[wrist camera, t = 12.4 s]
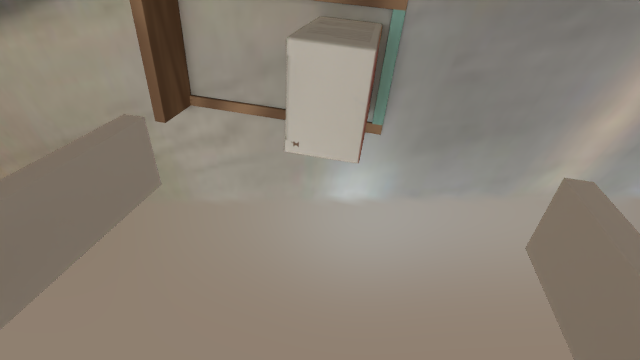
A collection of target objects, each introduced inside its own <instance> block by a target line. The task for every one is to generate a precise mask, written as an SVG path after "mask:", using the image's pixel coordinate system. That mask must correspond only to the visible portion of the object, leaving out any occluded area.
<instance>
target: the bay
mask: <svg viewBox="0 0 640 360" xmlns="http://www.w3.org/2000/svg"><path fill="white" fill-rule="evenodd" d="M316 1H325V2H333V3H342V4H351V5H360V6H369V7H378V8H387V9H393V13H392V19H391V24H390V29H389V35H388V40H387V46H386V51H385V57H384V62H383V68H382V73H381V78H380V84H379V89H378V95H377V100H376V106H375V111H374V117H373V122H367V124H366V129H365V132H367V133H373V134H380V135H381V130H382V125H383V120H384V116H385V111H386V106H387V101H388V96H389V91H390V86H391V81H392V76H393V71H394V66H395V61H396V56H397V52H398V47H399V42H400V37H401V32H402V27H403V22H404V17H405V12H406V7H407V2H408V0H316ZM130 4H131V9H132V14H133V18H134V23H135V28H136V32H137V37H138V42H139V46H140V51H141V56H142V61H143V65H144V70H145V75H146V79H147V84H148V89H149V93H150V98H151V103H152V107H153V112H154V117H155V121H157V122H163V123H166V122H167V121H169V120H170V119H172V118H173V117H175V116H176V115H177V114H179V113H180V112H182V111H183V110H185V109H186V108H187V107H189V106H190V105H193V106H199V107H206V108H212V109H219V110H225V111H232V112H238V113H244V114H251V115H257V116H264V117H270V118H277V119H283V120H286V109H280V108H273V107H266V106H260V105H253V104H247V103H240V102H233V101H227V100H220V99H214V98H207V97H201V96H194V95H191V92H190V85H189V78H188V71H187V64H186V57H185V50H184V42H183V35H182V28H181V21H180V14H179V7H178V0H130Z"/></svg>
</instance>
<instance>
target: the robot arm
mask: <svg viewBox="0 0 640 360" xmlns="http://www.w3.org/2000/svg"><path fill="white" fill-rule="evenodd" d="M160 185H161V180H160V177H159V173H158V169H157V165H156V161H155V157H154V153H153V149H152V145H151V141H150V137H149V133H148V129H147V126H146V122H145V118H144V117H140V116H133V115H127V114H123V115H122V116H120V117H118V118H116V119H114V120H112V121H110V122H108V123H106V124H105V125H103V126H101V127H99V128H97V129H95V130H93V131H91V132H89V133H88V134H86V135H84V136H82V137H80V138H78V139H76V140H74V141H72V142H71V143H69V144H67V145H65V146H63V147H61V148H59V149H57V150H55V151H54V152H52V153H50V154H48V155H46V156H44V157H42V158H40V159H38V160H37V161H35V162H33V163H31V164H29V165H27V166H25V167H23V168H21V169H20V170H18V171H16V172H14V173H12V174H10V175H8V176H6V177H4V178H3V179H1V180H0V330H1V329H2V328H3V327H4V326H5V325H6V324H7V323H8V322H9V321H10V320H12V319H13V318H14V317H15V316H16V315H17V314H18V313H19V312H21V311H22V310H23V309H24V308H25V307H26V306H27V305H28V304H29V303H31V302H32V301H33V300H34V299H35V298H36V297H37V296H38V295H39V294H40V293H42V292H43V291H44V290H45V289H46V288H47V287H48V286H49V285H50V284H51V283H53V282H54V281H55V280H56V279H57V278H58V277H59V276H60V275H62V273H64V272H65V271H66V270H67V269H68V268H69V267H70V266H72V264H74V263H75V262H76V261H77V260H78V259H79V258H80V257H81V256H83V255H84V254H85V253H86V252H87V251H88V250H89V249H90V248H91V247H93V246H94V245H95V244H96V243H97V242H98V241H99V240H100V239H101V238H102V237H104V235H106V234H107V233H108V232H109V231H110V230H111V229H113V228H114V227H115V226H116V225H117V224H118V223H119V222H120V221H121V220H123V219H124V218H125V217H126V216H127V215H128V214H129V213H130V212H131V211H132V210H134V209H135V208H136V207H137V206H138V205H139V204H140V203H141V202H142V201H144V200H145V199H146V198H147V197H148V196H149V195H150V194H151V193H152V192H154V191H155V190H156V189H157V188H158V187H159V186H160ZM525 249H526V251H527V253H528V256H529V258H530V260H531V262H532V265H533V267H534V269H535V271H536V274H537V276H538V278H539V281H540V283H541V285H542V288H543V290H544V292H545V294H546V297H547V299H548V301H549V304H550V306H551V308H552V311H553V313H554V315H555V318H556V320H557V322H558V324H559V327H560V329H561V331H562V334H563V336H564V338H565V340H566V343H567V345H568V347H569V350H570V352H571V354H572V357H573V359H574V360H640V234H639V233H638V231H637V230H636V229H635V228H634V227H633V226H632V225H631V224H630V222H629V221H628V220H627V219H626V218H625V217H624V216H623V214H622V213H621V212H620V211H619V210H618V209H617V208H616V207H615V205H614V204H613V203H612V202H611V201H610V200H609V199H608V198H607V196H606V195H605V194H604V193H603V192H602V191H601V190H600V189H599V187H598V186H597V185H596V184H595V183H594V182H589V181H582V180H575V179H568V178H564V179H563V181H562V183H561V184H560V186H559V188H558V190H557V192H556V194H555V195H554V197H553V199H552V201H551V203H550V204H549V206H548V208H547V210H546V212H545V213H544V215H543V217H542V219H541V221H540V223H539V224H538V226H537V228H536V230H535V232H534V233H533V235H532V237H531V239H530V241H529V242H528V244H527V246H526V248H525Z"/></svg>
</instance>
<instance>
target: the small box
mask: <svg viewBox="0 0 640 360" xmlns="http://www.w3.org/2000/svg"><path fill="white" fill-rule="evenodd" d="M381 32H382V24H379V23H372V22H364V21H356V20H347V19H339V18H330V17H318V18H317V19H315V20H314V21H312V22H310V23H309V24H307V25H305V26H304V27H302V28H301V29H299V30H298V31H296V32H295V33H293V34H292V35H290V36H288V37H287V38H286V52H287V81H286V124H285V140H284V151H285V152H291V153H297V154H303V155H308V156H315V157H321V158H327V159H333V160H339V161H345V162H352V163H359V160H360V155H361V150H362V145H363V140H364V135H365V129H366V124H367V119H368V113H369V108H370V102H371V96H372V91H373V84H374V78H375V71H376V64H377V57H378V50H379V44H380V38H381Z"/></svg>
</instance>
